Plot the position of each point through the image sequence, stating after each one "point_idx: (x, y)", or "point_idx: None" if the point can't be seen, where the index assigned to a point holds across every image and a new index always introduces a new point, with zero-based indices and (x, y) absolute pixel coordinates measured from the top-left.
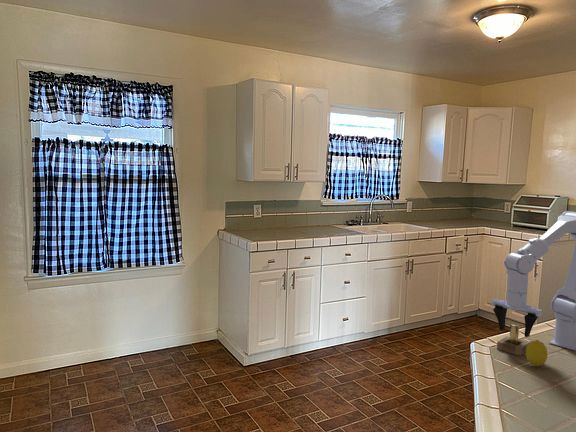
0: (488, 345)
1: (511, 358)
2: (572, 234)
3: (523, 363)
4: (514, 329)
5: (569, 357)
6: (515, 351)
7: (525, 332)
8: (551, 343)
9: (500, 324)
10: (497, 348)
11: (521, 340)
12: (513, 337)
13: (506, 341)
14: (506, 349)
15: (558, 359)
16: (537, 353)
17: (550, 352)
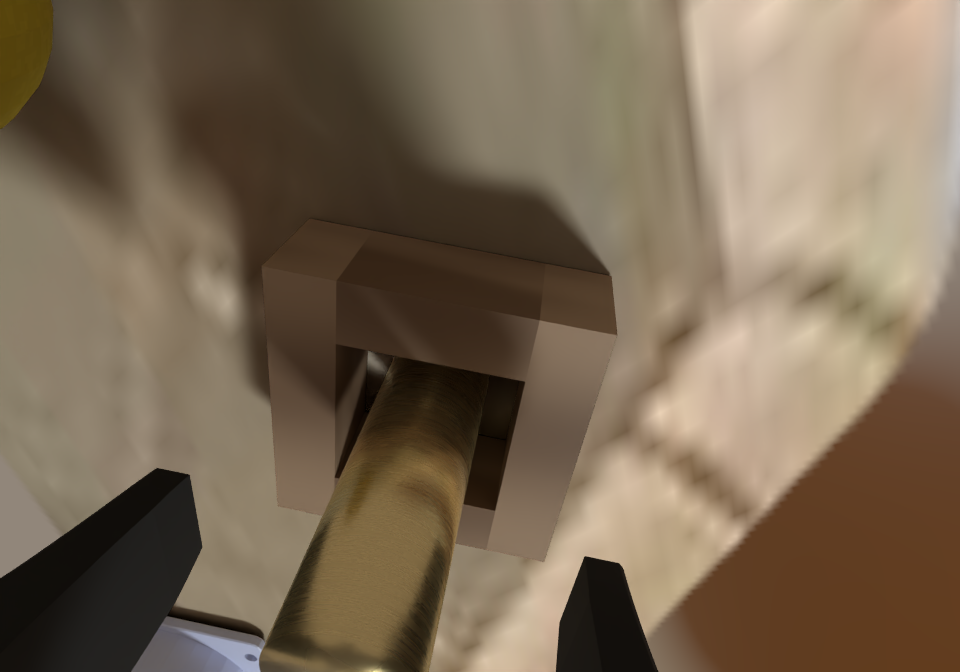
0: (735, 327)
1: (352, 42)
2: None
3: None
4: (331, 575)
5: (24, 468)
6: (353, 247)
7: (112, 524)
8: (244, 636)
9: (617, 657)
10: (605, 276)
11: None
12: (385, 452)
13: (513, 430)
14: (479, 266)
15: (35, 377)
16: None
17: None
